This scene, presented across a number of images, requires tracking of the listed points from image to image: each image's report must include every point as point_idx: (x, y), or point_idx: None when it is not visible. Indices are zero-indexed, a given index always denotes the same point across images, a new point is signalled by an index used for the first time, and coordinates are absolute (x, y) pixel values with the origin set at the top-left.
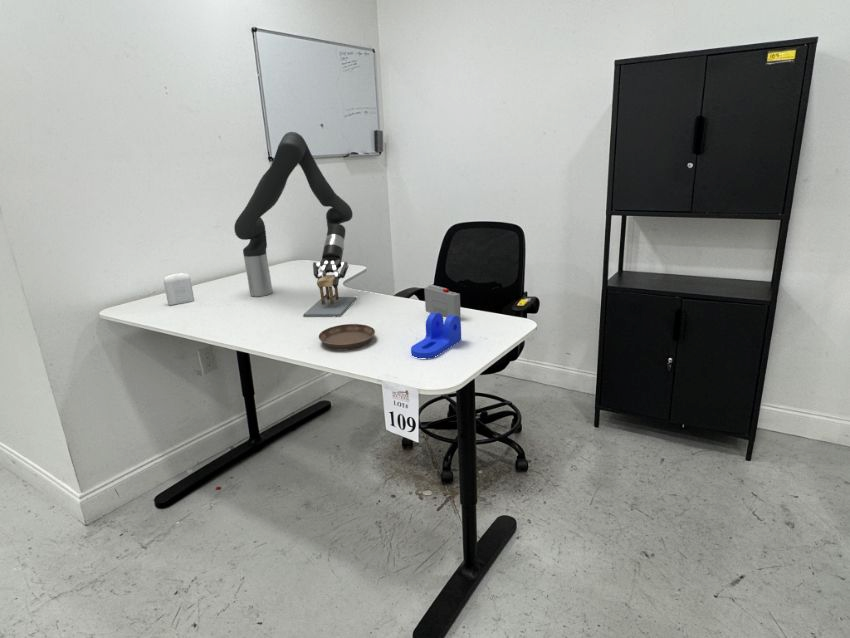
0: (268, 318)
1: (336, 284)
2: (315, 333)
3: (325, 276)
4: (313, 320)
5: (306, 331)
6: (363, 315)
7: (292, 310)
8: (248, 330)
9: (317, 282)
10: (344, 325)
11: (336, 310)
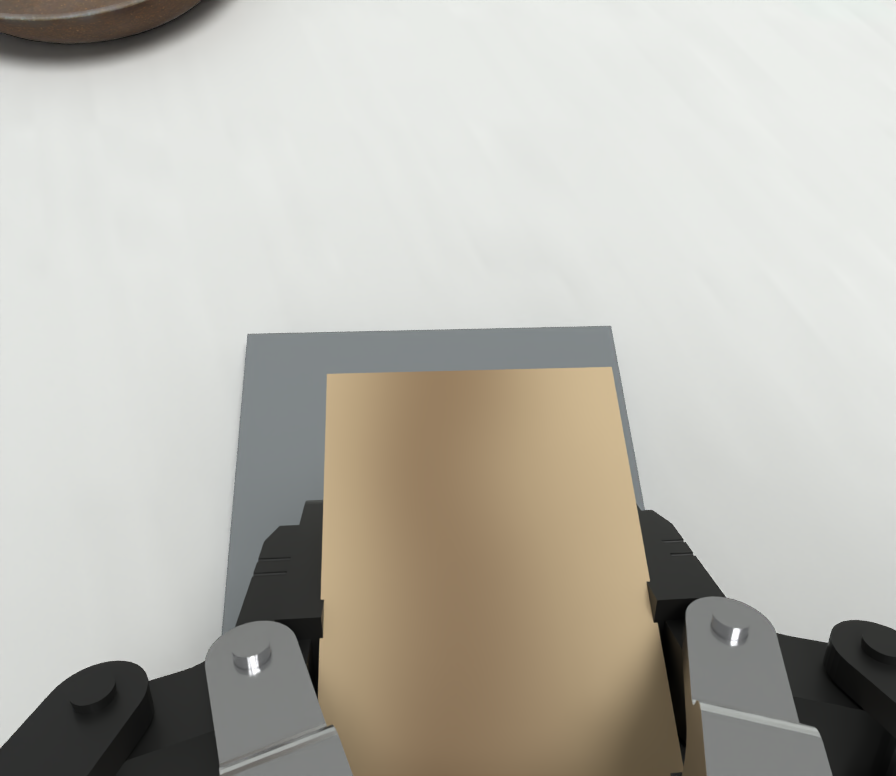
0: (890, 299)
1: (277, 536)
2: (343, 46)
3: (608, 753)
4: (468, 261)
5: (420, 73)
6: (24, 389)
7: (835, 522)
8: (834, 88)
9: (674, 537)
10: (114, 9)
11: (315, 439)
